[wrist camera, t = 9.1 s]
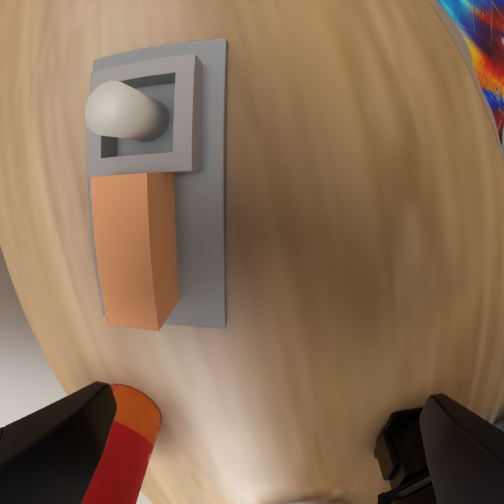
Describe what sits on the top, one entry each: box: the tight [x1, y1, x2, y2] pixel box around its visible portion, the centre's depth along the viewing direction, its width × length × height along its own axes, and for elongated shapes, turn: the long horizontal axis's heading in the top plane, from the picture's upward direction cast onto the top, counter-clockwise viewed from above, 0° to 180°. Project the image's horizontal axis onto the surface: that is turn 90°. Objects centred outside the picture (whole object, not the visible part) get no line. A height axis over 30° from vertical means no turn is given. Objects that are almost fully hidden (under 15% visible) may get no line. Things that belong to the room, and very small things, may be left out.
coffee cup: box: [82, 384, 161, 504], centre depth 16 cm, size 8×8×15 cm
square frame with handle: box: [87, 54, 204, 331], centre depth 15 cm, size 14×6×4 cm, turn 179°
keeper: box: [85, 38, 228, 328], centre depth 15 cm, size 9×18×6 cm, turn 179°
